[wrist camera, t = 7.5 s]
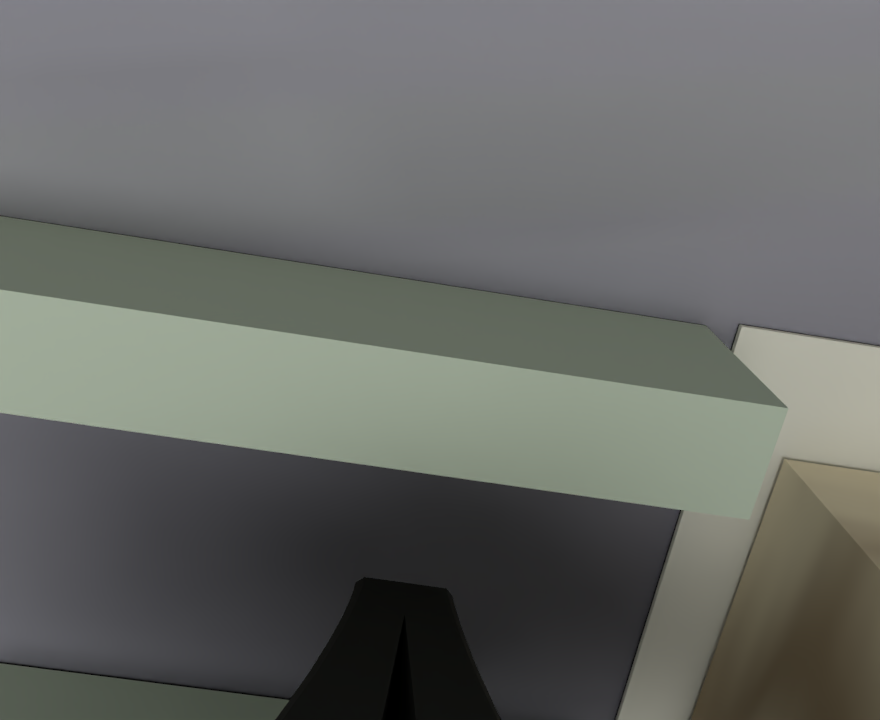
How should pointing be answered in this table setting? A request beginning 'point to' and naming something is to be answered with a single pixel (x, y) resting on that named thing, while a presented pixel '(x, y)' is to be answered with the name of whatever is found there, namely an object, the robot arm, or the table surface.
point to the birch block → (805, 606)
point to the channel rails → (359, 394)
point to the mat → (731, 539)
